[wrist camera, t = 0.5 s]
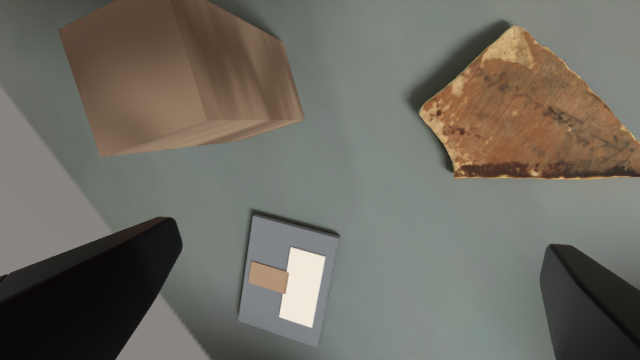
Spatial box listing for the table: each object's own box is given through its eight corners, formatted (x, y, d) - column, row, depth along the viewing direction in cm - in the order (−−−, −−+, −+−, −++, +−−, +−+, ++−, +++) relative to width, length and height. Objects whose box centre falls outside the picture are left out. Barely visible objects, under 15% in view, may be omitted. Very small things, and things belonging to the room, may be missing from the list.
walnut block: (304, 120, 23) (207, 120, 13) (237, 141, 25) (100, 157, 14) (282, 41, 23) (163, -24, 12) (215, 68, 24) (58, 29, 14)
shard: (660, 173, 19) (683, 178, 17) (531, 259, 21) (540, 271, 20) (513, 23, 20) (521, 14, 18) (404, 122, 22) (402, 122, 20)
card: (319, 343, 25) (316, 348, 25) (241, 317, 27) (237, 321, 26) (340, 236, 24) (338, 239, 23) (256, 213, 25) (252, 216, 25)
